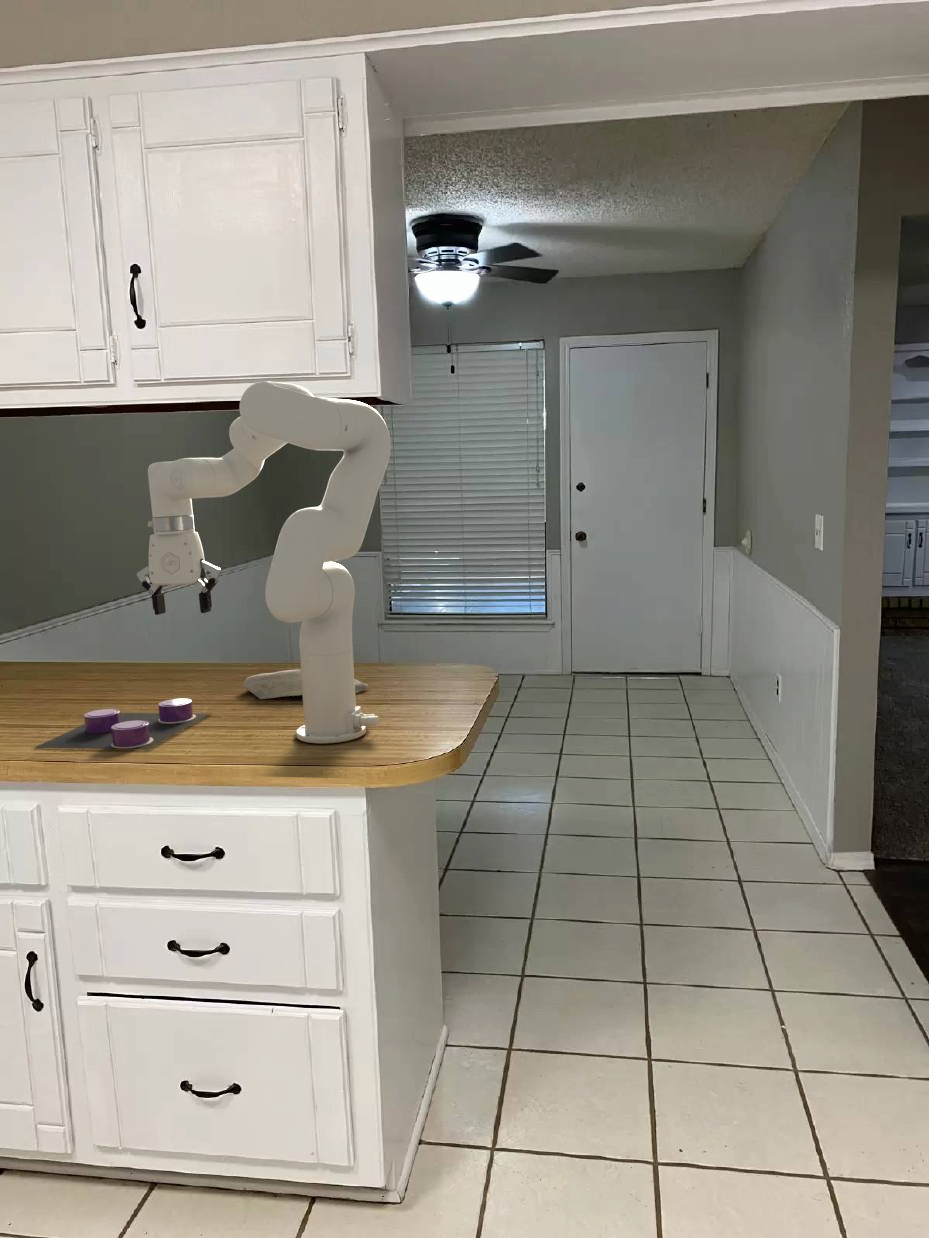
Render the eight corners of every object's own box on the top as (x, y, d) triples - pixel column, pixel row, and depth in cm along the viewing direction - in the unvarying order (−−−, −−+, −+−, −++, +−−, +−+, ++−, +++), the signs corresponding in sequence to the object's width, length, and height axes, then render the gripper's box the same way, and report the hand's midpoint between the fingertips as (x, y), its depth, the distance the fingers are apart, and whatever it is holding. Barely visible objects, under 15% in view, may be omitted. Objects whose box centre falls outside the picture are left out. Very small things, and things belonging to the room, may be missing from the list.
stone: (225, 679, 197) (265, 667, 211) (231, 712, 198) (270, 697, 211) (333, 668, 186) (367, 655, 200) (339, 702, 187) (373, 687, 201)
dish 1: (127, 724, 176) (125, 708, 175) (108, 734, 169) (107, 717, 169) (97, 724, 177) (96, 708, 176) (78, 733, 171) (76, 716, 170)
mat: (209, 715, 182) (209, 713, 182) (146, 751, 159) (146, 748, 158) (110, 714, 186) (110, 712, 186) (35, 749, 163) (35, 746, 163)
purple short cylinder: (156, 737, 166) (155, 719, 165) (138, 747, 159) (136, 729, 159) (125, 736, 167) (123, 719, 166) (105, 746, 161) (103, 729, 160)
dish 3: (198, 713, 182) (197, 698, 181) (183, 722, 175) (182, 706, 175) (169, 713, 183) (168, 697, 182) (153, 722, 177) (151, 705, 176)
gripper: (122, 529, 173) (132, 617, 175) (206, 524, 170) (215, 614, 172) (143, 527, 180) (152, 611, 183) (223, 522, 177) (232, 608, 180)
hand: (183, 613), depth 178 cm, fingers open, 9 cm apart
